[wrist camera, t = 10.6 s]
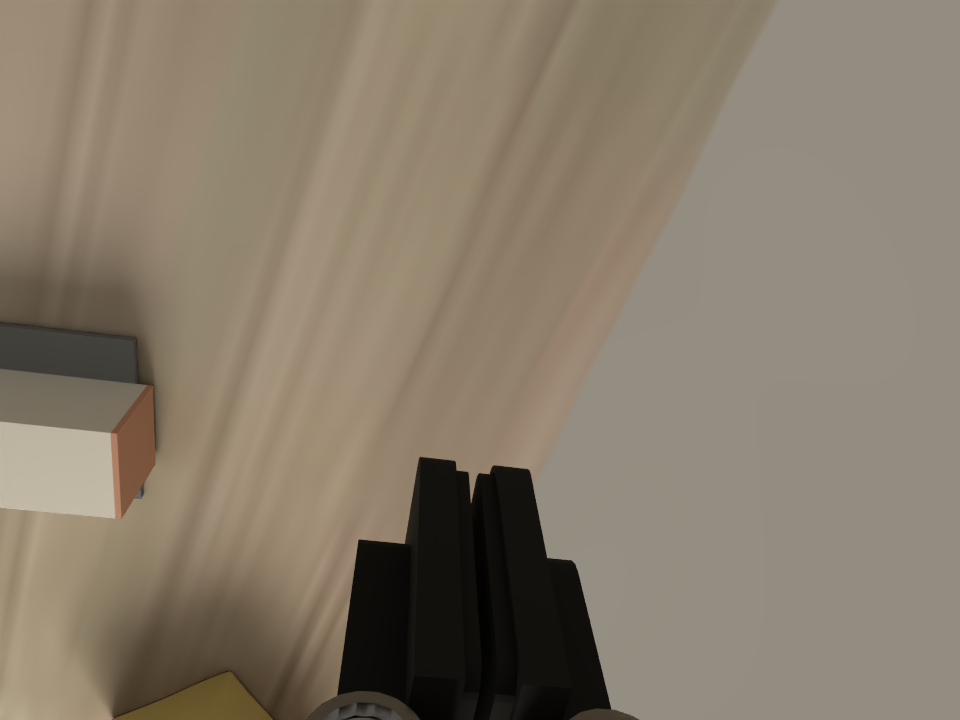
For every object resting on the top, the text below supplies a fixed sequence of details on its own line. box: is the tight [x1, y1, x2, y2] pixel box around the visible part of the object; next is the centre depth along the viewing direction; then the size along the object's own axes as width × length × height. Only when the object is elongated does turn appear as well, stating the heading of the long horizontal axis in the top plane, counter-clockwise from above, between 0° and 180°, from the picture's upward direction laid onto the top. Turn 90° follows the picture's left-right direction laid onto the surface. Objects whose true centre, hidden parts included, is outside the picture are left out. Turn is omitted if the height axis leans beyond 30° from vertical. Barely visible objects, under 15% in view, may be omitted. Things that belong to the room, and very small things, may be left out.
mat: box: [0, 323, 143, 499], centre depth 41 cm, size 10×12×1 cm
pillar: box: [0, 369, 155, 519], centre depth 38 cm, size 5×5×12 cm
